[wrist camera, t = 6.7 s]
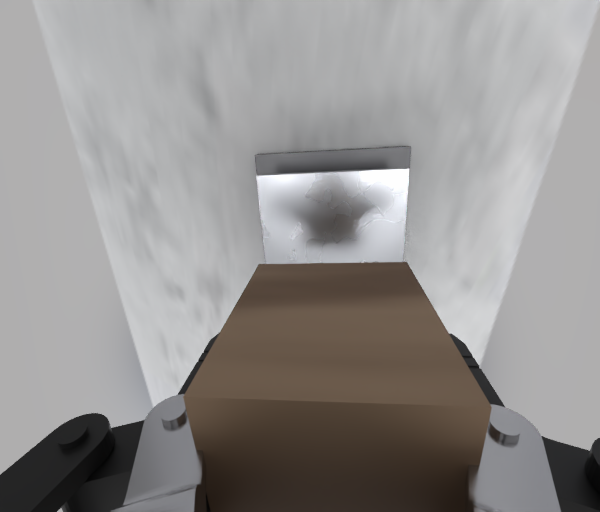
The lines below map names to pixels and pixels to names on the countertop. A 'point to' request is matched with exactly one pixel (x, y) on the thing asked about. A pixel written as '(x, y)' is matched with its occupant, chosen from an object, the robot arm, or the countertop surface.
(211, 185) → the countertop surface
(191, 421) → the walnut block
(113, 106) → the countertop surface
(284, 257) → the pan
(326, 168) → the base
